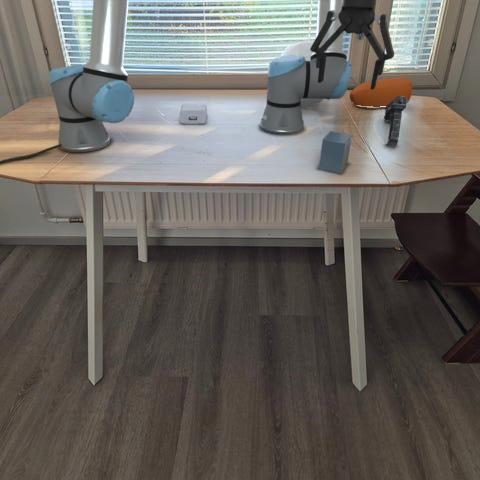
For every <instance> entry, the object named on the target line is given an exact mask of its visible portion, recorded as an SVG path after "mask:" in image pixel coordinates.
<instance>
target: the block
mask: <svg viewBox="0 0 480 480" xmlns="http://www.w3.org/2000/svg"><path fill="white" fill-rule="evenodd" d="M352 139H353V134H352V133H351V134H350V133H344V132H339V131H333V130H330V131H329V132H328V133H327V134H326V135H325V136H324V137H323V139H322V142H321V149H320V156H319V163H318V170H321V171H325V172H330V173H336V174H340V175H341V174H342V172H343V171H344V169H345V168H346V166H347V165H348V161H349V155H350V152H351V151H350V150H351V144H352Z"/></svg>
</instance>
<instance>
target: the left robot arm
mask: <svg viewBox="0 0 480 480" xmlns="http://www.w3.org/2000/svg"><path fill="white" fill-rule="evenodd" d="M92 1H93V2H92V15H91V17H92V18H91V33H90V48H89V49H90V50H89V60H88V61H87V62H86V63H85V64H77V65H69V66H63V67H57V68H54V69H52V70H50V71H49V73H48V76H49V77H48V78H49V85H50V86H51V90H52V93H53V94H52V95H53V98H54V102H55V107H56V111H57V114H58V118H59V132H58V133H59V134H58V144H55V145H53V146H50V147H48V148H45V149H43V150H40V151H37V152H33V153H30V154H25V155H21V156H15V157H9V158H5V159H2V160H0V165H1V164H5V163H9V162H14V161H18V160H19V161H20V160H24V159H28V158H33V157H37V156H40V155H42V154H45V153H47V152H50V151H53V150H56V149H58V148H60V149H61V150H62V151H64V152H68V153H74V154H76V153H77V154H81V153H82V154H83V153H90V152H96V151H99V150H102V149H104V148H106V147H107V146H108V145H109V144H110V143H111V140H110V139H111V138H110V135H109V133H108V130H107V129H106V127H105V125H104V123H108V124H117V123H121V122H123V121H124V120H125V119H126V118H127V117H129V115H130V114H131V113H132V111H133V108H134V105H135V94H134V91H133V90H132V87H131V86H130V85H129V83H128V77H129V76H128V73H127V72H126V70H125V68H124V58H125V57H124V56H125V46H126V36H127V35H126V34H127V22H128V13H129V0H92Z"/></svg>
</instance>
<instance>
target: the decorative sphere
mask: <svg viewBox="0 0 480 480" xmlns="http://www.w3.org/2000/svg"><path fill="white" fill-rule="evenodd" d="M313 43H314V41H308V40H301V41H299V42H295V43H293V44H290V45H287V46H286V47H285V49H283V51H282V52H281V54H280V55H279V56H278V57H282V56H288V55H302V56H304V57H305V61H310V58H311V55H312V54H313V53H314V52H312V51H311V50H310V48H311V46H312V44H313ZM323 100H324V99H306V98H302V99H301V105H300V107H301V109H306V108H310V107H313V106H315V105H317V104H321V103H322V102H323Z"/></svg>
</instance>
